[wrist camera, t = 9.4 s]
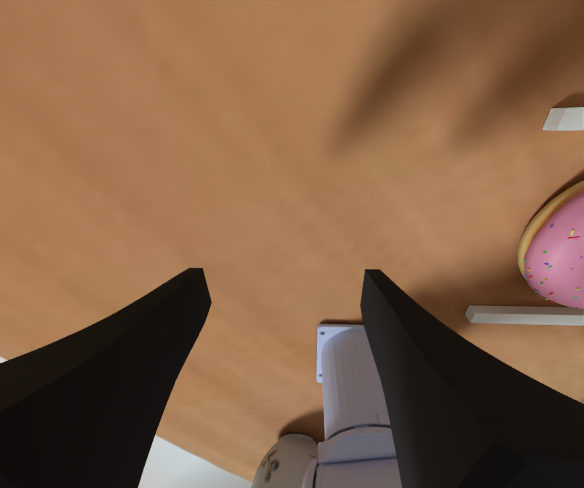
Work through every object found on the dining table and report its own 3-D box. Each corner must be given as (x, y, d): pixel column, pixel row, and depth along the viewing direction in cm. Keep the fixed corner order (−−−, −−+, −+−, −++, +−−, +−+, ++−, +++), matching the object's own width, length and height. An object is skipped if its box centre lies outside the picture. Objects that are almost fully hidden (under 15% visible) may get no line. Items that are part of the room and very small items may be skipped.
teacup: (241, 436, 37) (225, 510, 30) (300, 411, 33) (297, 491, 26) (303, 471, 42) (302, 542, 35) (363, 453, 37) (375, 531, 30)
